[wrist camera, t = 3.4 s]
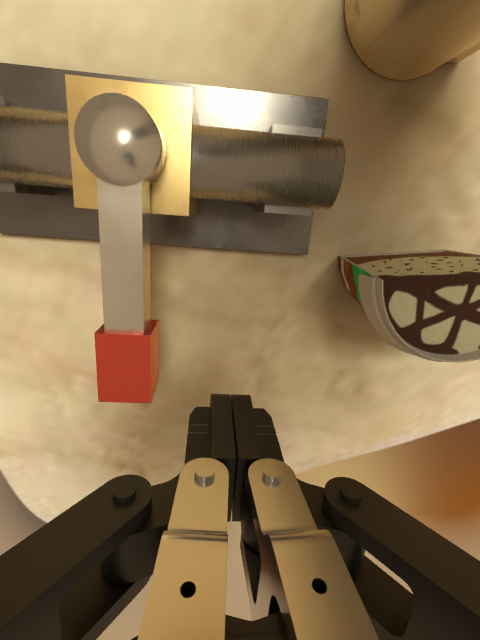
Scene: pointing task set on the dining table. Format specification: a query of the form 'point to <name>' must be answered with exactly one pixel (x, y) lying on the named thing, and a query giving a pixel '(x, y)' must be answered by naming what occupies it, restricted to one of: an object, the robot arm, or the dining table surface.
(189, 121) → the valve pipe
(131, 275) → the valve lever
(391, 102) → the dining table surface
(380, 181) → the dining table surface
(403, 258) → the food container
